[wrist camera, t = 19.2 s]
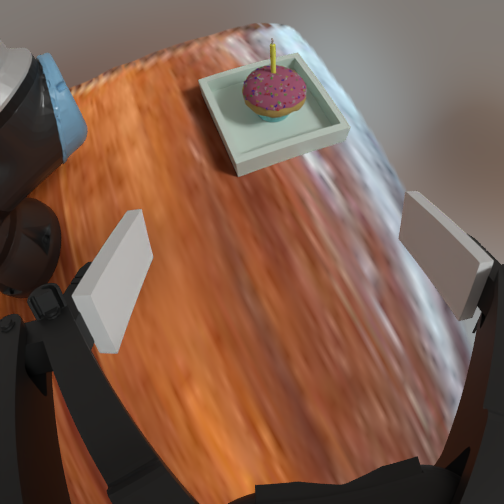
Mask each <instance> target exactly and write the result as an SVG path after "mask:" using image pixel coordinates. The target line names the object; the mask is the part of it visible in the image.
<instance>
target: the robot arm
mask: <svg viewBox="0 0 504 504" xmlns="http://www.w3.org/2000/svg"><path fill="white" fill-rule="evenodd" d="M86 136H87V125H86V123H85V121H84V118H83V116H82V114H81V112H80V110H79V108H78V106H77V104H76V102H75V100H74V98H73V96H72V94H71V93H70V91H69V89H68V87H67V86H66V83H65V81H64V79H63V77H62V75H61V73H60V71H59V69H58V67H57V65H56V63H55V62H54V59H53V58H52V56H51V55H50V54H49V53H45V54H43V55H39V56H38V57H37V58H36V59H35V58H34V56H33V55H32V54H31V52H30V51H29V50H28V49H26V48H11V49H8V48H7V47H6V46H5V45H4V43H3V42H2V41H1V39H0V292H2V293H3V294H5V295H8V296H11V297H16V298H27V297H28V300H27V303H28V305H29V307H30V309H31V311H32V312H33V314H34V316H35V318H36V320H35V321H31V322H27V323H24V322H23V320H22V319H21V317H20V316H19V315H18V314H11V315H8V316H5V317H3V319H1V320H0V504H71V501H70V497H69V493H68V489H67V484H66V480H65V475H64V470H63V465H62V460H61V454H60V448H59V442H58V435H57V428H56V419H55V410H54V400H53V388H52V371H53V372H54V374H55V377H56V380H57V382H58V385H59V387H60V390H61V392H62V395H63V397H64V400H65V402H66V404H67V407H68V409H69V411H70V414H71V416H72V418H73V420H74V422H75V425H76V427H77V429H78V431H79V433H80V435H81V437H82V439H83V441H84V443H85V445H86V447H87V449H88V451H89V453H90V455H91V457H92V458H93V460H94V462H95V464H96V466H97V467H98V469H99V471H100V473H101V474H102V476H103V478H104V480H105V481H106V483H107V485H108V489H107V494H108V497H109V498H110V500H111V502H112V504H199V503H198V502H197V500H196V499H195V498H194V497H193V496H192V495H191V494H190V493H189V492H188V491H187V489H186V488H185V487H184V486H183V485H182V484H181V482H180V481H179V480H178V479H177V478H176V476H175V475H174V474H173V473H172V472H171V470H170V469H169V468H168V467H167V465H166V464H165V463H164V462H163V460H162V459H161V458H160V456H159V455H158V454H157V452H156V451H155V450H154V448H153V447H152V446H151V444H150V443H149V442H148V440H147V439H146V438H145V436H144V435H143V433H142V432H141V431H140V429H139V428H138V426H137V425H136V423H135V422H134V420H133V419H132V417H131V416H130V414H129V413H128V411H127V410H126V408H125V407H124V405H123V404H122V402H121V401H120V399H119V397H118V396H117V394H116V393H115V391H114V389H113V388H112V386H111V384H110V383H109V381H108V379H107V378H106V376H105V374H104V373H103V371H102V369H101V367H100V366H99V364H98V362H97V360H96V358H95V357H94V355H93V353H92V351H91V349H92V347H93V344H94V343H95V345H96V346H97V348H98V350H99V352H100V353H118V351H119V348H120V345H121V342H122V339H123V336H124V333H125V330H126V327H127V325H128V322H129V319H130V316H131V313H132V311H133V308H134V305H135V303H136V300H137V297H138V295H139V292H140V289H141V287H142V284H143V282H144V279H145V277H146V274H147V272H148V269H149V267H150V264H151V262H152V259H153V254H152V250H151V246H150V242H149V238H148V234H147V230H146V226H145V222H144V217H143V213H142V209H138V210H130V211H127V212H126V213H125V215H124V216H123V218H122V219H121V220H120V222H119V223H118V225H117V226H116V228H115V229H114V230H113V232H112V233H111V235H110V236H109V238H108V239H107V241H106V242H105V244H104V245H103V247H102V248H101V250H100V251H99V253H98V254H97V256H96V257H95V259H94V260H93V262H88V263H86V264H85V265H84V266H83V267H82V268H80V269H79V271H78V272H77V274H76V275H75V278H73V280H72V282H71V285H69V286H68V288H67V289H66V291H65V293H64V294H62V292H61V290H60V288H59V286H58V285H57V284H55V283H47V282H48V281H49V279H50V278H51V276H52V274H53V272H54V270H55V268H56V265H57V262H58V259H59V254H60V249H61V230H60V225H59V221H58V219H57V217H56V215H55V213H54V212H53V210H52V209H51V208H50V207H48V206H47V205H45V204H44V203H42V202H41V201H39V200H37V199H34V198H27V197H26V196H27V195H28V194H30V193H31V192H32V191H33V190H34V189H35V188H36V187H37V186H38V185H39V184H40V183H41V182H42V181H43V180H44V179H45V178H47V177H48V176H49V175H50V174H51V173H52V172H53V171H54V170H55V169H57V168H58V167H59V166H60V165H61V164H62V163H63V164H64V163H65V162H66V161H67V158H68V157H69V156H70V155H71V154H72V153H73V152H74V151H75V150H77V149H78V148H79V147H80V146H81V145H82V144H83V142H84V141H85V139H86ZM399 240H400V241H401V242H402V244H403V245H404V246H405V247H406V249H407V250H408V251H409V253H410V254H411V255H412V256H413V258H414V259H415V260H416V262H417V263H418V264H419V266H420V267H421V268H422V270H423V271H424V272H425V274H426V275H427V276H428V278H429V279H430V281H431V282H432V283H433V285H434V286H435V288H436V289H437V290H438V292H439V293H440V295H441V296H442V297H443V299H444V300H445V302H446V303H447V305H448V306H449V308H450V309H451V311H452V312H453V314H454V315H455V317H456V318H457V320H458V321H461V320H465V319H469V318H472V317H473V315H474V312H475V310H476V308H477V306H478V307H479V309H480V310H481V315H480V317H479V319H478V321H477V323H476V326H475V328H474V330H473V332H472V333H475V331H476V330H477V331H476V337H475V342H474V347H473V352H472V356H471V361H470V365H469V369H468V373H467V378H466V381H465V385H464V389H463V393H462V396H461V400H460V403H459V406H458V410H457V413H456V416H455V419H454V422H453V425H452V428H451V431H450V434H449V436H448V439H447V442H446V445H445V447H444V450H443V452H442V454H441V456H440V458H439V459H438V461H437V462H436V464H435V465H434V466H432V465H420V463H419V459H418V456H417V457H414V458H411V459H407V460H404V461H400V462H397V463H393V464H389V465H386V466H382V467H380V468H378V469H376V470H374V471H372V472H370V473H368V474H366V475H364V476H362V477H360V478H357V479H355V480H353V481H351V482H349V483H346V484H342V485H333V484H318V483H306V482H290V483H279V484H266V485H255V493H253V494H249V495H246V496H243V497H241V498H238V499H236V500H234V501H232V502H230V503H228V504H504V264H502V265H501V264H500V263H499V262H498V261H497V260H496V259H495V258H494V257H493V256H492V255H491V254H490V253H489V252H488V251H486V249H485V248H484V247H483V246H481V244H480V243H479V242H478V241H477V240H476V239H475V238H473V237H472V236H470V235H468V234H466V233H465V232H464V231H463V230H462V229H460V227H459V226H457V225H456V224H455V223H454V222H453V221H452V220H451V219H450V218H448V217H447V216H446V215H445V214H444V213H443V212H442V211H441V210H440V209H438V208H437V207H436V206H435V205H434V204H432V203H431V202H430V201H429V200H428V199H427V198H425V197H424V196H423V195H422V194H421V193H419V192H418V191H405V198H404V206H403V213H402V220H401V227H400V233H399Z"/></svg>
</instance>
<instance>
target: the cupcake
mask: <svg viewBox="0 0 504 504" xmlns="http://www.w3.org/2000/svg"><path fill="white" fill-rule="evenodd" d="M271 40H272V44H270V61H271V64H269V65H268V66H267V65H266V66H263V67H260V68H256V69H255V70H254V71H251V73H250V74H249V75H248V77H247V78H246V80H245V81H244V84H243V88H242V94H243V98H244V101H245V104H246V105H247V106H248V107H249V108H250V109H251V110H252V111H254V112H255V113H256V114H258V116H259V117H260V118H261V119H263V120H265V121H268V122H279V121H282V120H284V119H285V118H287V116H288V115H289V114H290V113H292V112H294V111H298V110H300V108H301V107H302V106H303V105H304V103H305V100H306V92H307V90H306V84H305V82H304V81H303V78H301V77H300V75H299V74H297V72H295V71H294V70H293V71H292V70H291V69H289V68H288V67H287V68H286V67H283V66H278V65H276V47H275V44H273V38H272V39H271Z"/></svg>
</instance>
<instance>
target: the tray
mask: <svg viewBox="0 0 504 504" xmlns="http://www.w3.org/2000/svg"><path fill="white" fill-rule="evenodd" d="M269 64H271V61H270V59H268V60H264V61H260V62H256V63H252V64H249V65H245V66H241V67H238V68H234V69H231V70H228V71H224V72H221V73H218V74H215V75H212V76H209V77H206V78H203V79H200V80H198V81H199V85H200V89H201V93H202V96H203V98H204V101H205V103H206V105H207V107H208V109H209V112H210V114H211V116H212V118H213V121H214V123H215V125H216V127H217V130H218V132H219V134H220V137H221V139H222V141H223V143H224V146H225V148H226V150H227V152H228V155H229V157H230V159H231V162H232V164H233V166H234V168H235V171H236V173H237V175H238V177H240V176H243V175H245V174H248V173H251V172H254V171H256V170H259V169H262V168H265V167H268V166H270V165H273V164H276V163H279V162H282V161H285V160H288V159H291V158H294V157H297V156H300V155H303V154H306V153H309V152H312V151H315V150H318V149H321V148H325V147H328V146H331V145H334V144H337V143H341V142H344V141H345V140H346V138H347V135H348V133H349V130H350V128H351V127H350V126H349V124H348V122H347V121H346V119H345V118H344V116H343V115H342V113H341V112H340V110H339V109H338V107H337V106H336V104H335V103H334V101H333V100H332V98H331V97H330V96H329V94H328V93H327V91H326V90H325V89H324V87H323V86H322V84H321V83H320V82H319V80H318V79H317V77H316V76H315V75H314V73H313V72H312V71H311V69H310V68H309V67H308V65H307V64H306V63H305V61H304V60H303V59H302V58H301V56H300V55H299V54H298V53H294V54H289V55H285V56H280V57H276V65H278V66H283V67H286V68H287V67H288V68H289V69H291V70H292V71H293V70H294V71H295V72H297V74H299V75H300V77H301V78H303V81H304V82H305V84H306V90H307V92H306V100H305V103H304V105H303V106H302V107H301V108H300V110H298V111H294V112H292V113H290V114H289V115H288V116H287V118H285V119H284V120H282V121H279V122H268V121H265V120H263V119H261V118H260V117H259V116H258V114H256V113H255V112H254V111H252V110H251V109H250V108H249V107H248V106H247V105H246V104H245V101H244V98H243V94H242V88H243V84H244V81H245V80H246V78H247V77H248V75H249V74H250V73H251V71H254V70H255V69H256V68H260V67H263V66H266V65H267V66H268V65H269Z"/></svg>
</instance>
